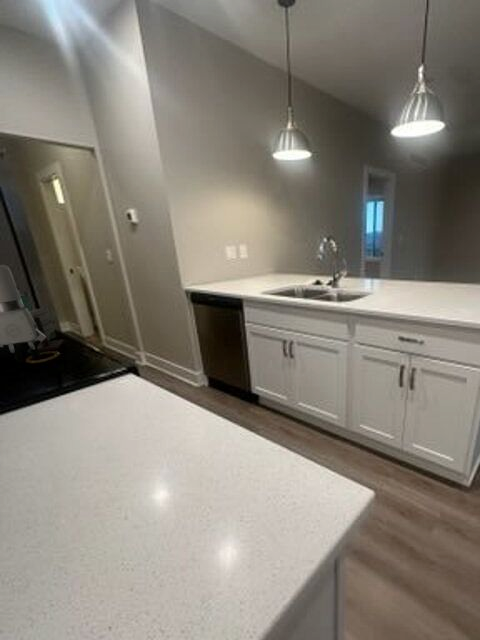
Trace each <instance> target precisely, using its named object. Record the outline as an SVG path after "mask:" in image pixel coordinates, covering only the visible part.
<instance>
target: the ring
mask: <svg viewBox="0 0 480 640" xmlns="http://www.w3.org/2000/svg"><path fill="white" fill-rule="evenodd" d="M39 354H40V356H43V355H48V354H49V355H50V354H54V355H52V356H49V357H46V358H42V359H36V360H33V358H32V355H30V356H28V357H27V358H25V359H24V360H25V361H24V362H25V363H27V364H38V363H44V362H47V361H51V360H54V359H56V358H58V357H59V356H60V355H61V352H59V351H58V350H48V351H42V352H39Z"/></svg>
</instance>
